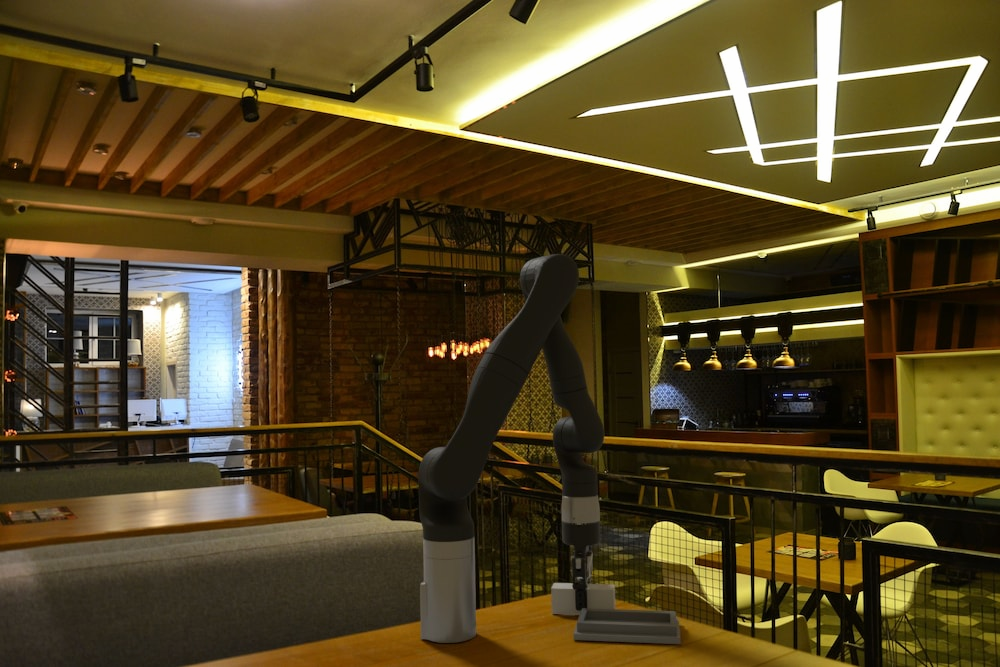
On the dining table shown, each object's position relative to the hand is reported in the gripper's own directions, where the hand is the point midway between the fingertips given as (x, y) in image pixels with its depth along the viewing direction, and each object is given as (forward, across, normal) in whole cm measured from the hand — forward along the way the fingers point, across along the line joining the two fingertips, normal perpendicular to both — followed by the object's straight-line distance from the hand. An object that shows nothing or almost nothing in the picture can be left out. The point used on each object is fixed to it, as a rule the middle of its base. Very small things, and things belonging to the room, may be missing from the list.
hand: (583, 605), depth 151 cm
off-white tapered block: (+1, 0, 0) cm, 1 cm away
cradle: (+1, +12, +9) cm, 15 cm away
